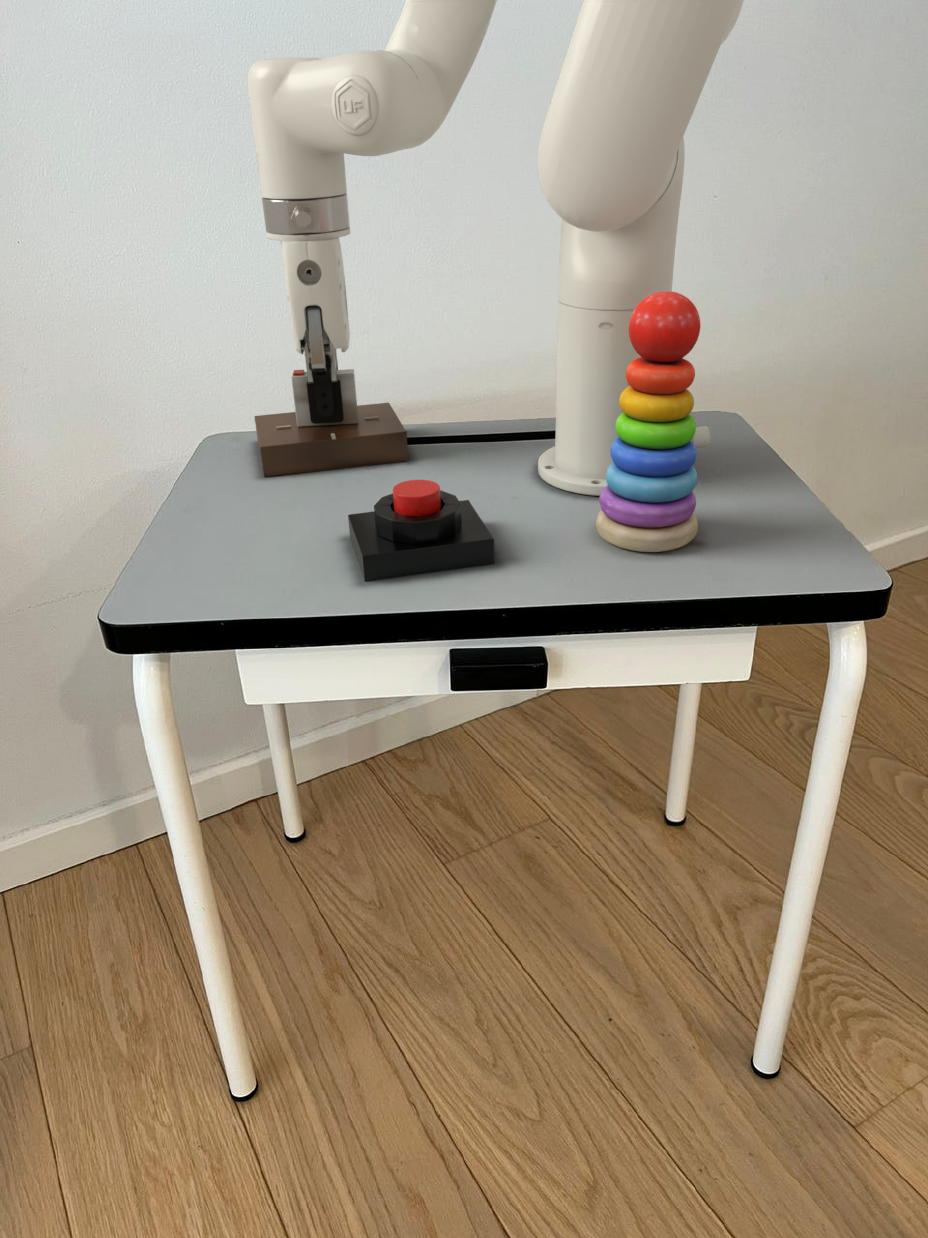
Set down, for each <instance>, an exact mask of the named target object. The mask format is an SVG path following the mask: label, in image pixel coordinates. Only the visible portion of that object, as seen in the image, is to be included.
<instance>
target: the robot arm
mask: <svg viewBox="0 0 928 1238" xmlns="http://www.w3.org/2000/svg"><path fill="white" fill-rule="evenodd" d="M497 1H498V0H405V1H404V2H405V3H404V5H403V7H402V10H401V13H400V15H399V18H398V20H397V23H396V25H395V27H394V29H393V31H392V34H391V36H390V38H389V40H388V43H387V44H386V47H385V48H384V50H382V49H381V50H378V49H377V50H359V51H358V50H357V51H351V52H347V53H343V54H338V55H334V56H329V57H326V58H325V57H323V58H321V57H307V56H306V57H302V56H301V57H299V56H298V57H277V58H265V59H260V60H258V61H255V62H254V63H253V64H252V65H251V66H250V68H249V70H248V73H247V90H248V97H249V98H248V99H249V106H250V107H249V108H250V115H251V124H252V130H253V138H254V146H255V147H254V148H255V154H256V163H257V169H258V170H257V171H258V178H259V184H260V186H259V187H260V195H261V201H262V203H261V204H262V209H263V218H264V226H265V227H264V228H265V234H266V235H265V236H266V238H267V239H269V240H272V241H279V242H280V250H281V259H282V267H283V277H284V284H285V292H286V298H287V306H288V313H289V320H290V325H291V332H292V337H293V342H294V348H295V351H296V352H297V353H299V354H300V355H304V359H305V368H306V372H307V377H308V382H307V383H306V384H307V393H308V401H309V410H310V419H311V422H312V423H313V424H320V423H337V422H342V421H343V419H344V415H343V404H342V394H341V384H340V380H337V371H336V370H339V362H338V353H337V349H338V350H339V349H340V351H341V353H345V352H347V350H349V348H350V339H351V338H350V337H351V336H350V335H351V334H350V333H351V331H350V322H349V321H350V320H349V311H348V299H347V290H346V289H347V287H346V278H345V277H346V276H345V267H344V260H343V253H342V252H343V251H342V246H341V239H340V238H343V237H346V236H350V234H351V223H350V211H349V202H348V201H349V199H348V190H347V189H348V188H347V177H346V163H345V155H352V156H359V157H379V156H384V155H389V154H392V153H397V152H400V151H404V150H408V149H414V148H416V147H419V146H421V145H423V144H425V143H426V142H427V141H429V140H430V139H431V138H432V137H433V136H434V135H435V133H437V131H439V129H440V127H441V126H442V125H443V123H444V121H445V120H446V118H447V116H448V114H449V113H450V111H451V109H452V107H453V105H454V103H455V101H456V99H457V97H458V95H459V93H460V91H461V89H462V88H463V85H464V83H465V81H466V79H467V77H468V75H469V73H470V71H471V70H472V67H473V65H474V63H475V61H476V58H477V57H478V54H479V51H480V49H481V47H482V44H483V42H484V40H485V37H486V34H487V31H488V29H489V26H490V22H491V19H492V17H493V13H494V10H495V8H496V4H497ZM744 1H745V0H583V2H582V5H581V8H580V11H579V14H578V17H577V21H576V24H575V26H574V30H573V33H572V36H571V39H570V42H569V46H568V49H567V52H566V54H565V57H564V62H563V64H562V67H561V70H560V73H559V76H558V78H557V82H556V85H555V88H554V91H553V95H552V97H551V101H550V104H549V106H548V110H547V113H546V116H545V119H544V124H543V125H542V129H541V134H540V137H539V143H538V147H537V149H538V150H537V174H538V179H539V184H540V187H541V190H542V193H543V196H544V197H545V199H546V201H547V203H548V204H549V206H550V207H551V209H552V210H553V211H554V212H555V213H556V215H557V216H558V217H559V218H561V230H560V231H561V232H560V243H559V255H558V256H559V257H558V281H557V283H558V285H557V286H558V288H557V326H556V327H557V330H556V331H557V332H556V333H557V334H556V379H555V380H556V386H555V387H556V388H555V389H556V390H555V397H556V398H555V435H554V436H555V439H554V440H555V442H554V446H552V447H550V448H548V449H546V450H545V451H544V452H542V454H541V455H540V456H539V458H538V460H537V473H538V475H539V476H540V478H541V479H542V480H543V481H545V482H546V483H547V484H548V485H550V486H553V487H555V488H557V489H559V490H562V491H566V492H570V493H574V494H578V495H586V496H595V497H600V494H601V491H602V490H603V489H604V487H605V486H606V485H608V484H607V481H606V473H607V470H608V468H609V466H610V465H611V464H612V463H613V461H612V458H611V453H610V451H611V446H612V444H613V442H614V441H615V440H616V439H617V438H618V437H619V436H618V435H617V432H616V421H617V418H618V417H619V416H620V414H622V413H623V411H622V410H621V408H620V405H619V398H620V395H621V393H622V392H623V391H624V390H625V389H626V388H627V387H629V386H630V385H629V384H628V382H627V380H626V369H627V367H628V365H629V364H630V363H631V362H632V361H633V360H635V359H637V358H640V357H641V356H640V355H639V354H638V353H637V352H636V351H635V349H634V348H633V346H632V344H631V341H630V337H629V322H630V318H631V315H632V313H633V311H634V309H635V308H636V306H637V305H638V304H639V303H640V302H641V301H642V300H643V299H644V298H646V297H647V296H649V295H651V294H654V293H656V292H662V291H672V292H673V281H674V266H675V256H676V255H675V254H676V245H677V234H678V227H679V226H678V224H679V215H680V207H681V200H682V199H681V198H682V191H683V184H684V183H683V182H684V173H685V155H686V154H685V137H684V136H685V133H686V131H687V129H688V126H689V123H690V122H691V119H692V117H693V115H694V111H695V109H696V107H697V105H698V102H699V99H700V97H701V94H702V92H703V90H704V87H705V84H706V82H707V80H708V77H709V75H710V73H711V70H712V67H713V65H714V62H715V60H716V58H717V55H718V53H719V51H720V48H721V46H722V44H724V43H725V41H726V40H727V39H728V37H729V36H730V34H731V32H732V31H733V29H734V28H735V26H736V23H737V21H738V19H739V17H740V14H741V11H742V8H743V4H744ZM711 438H712V436H711V430H710V428H709V427H708V425H704V426H696V431H695V435H694V437H693V438H692V440H691V441H692V443H693V444H694V445H695V448H696V449H701V448H707V447H709V446H710V444H711Z"/></svg>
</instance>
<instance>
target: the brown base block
mask: <svg viewBox="0 0 928 1238" xmlns="http://www.w3.org/2000/svg"><path fill="white" fill-rule="evenodd" d="M357 409H358V423H355V424H338V425H320V426H303V427H298V426H297V421H296V412H295V411H291V412H281V413H280V412H279V413H271V414H261V415H254V423H255V430H256V439H257V444H258V450H259V456H260V463H261V468H262V474H263V477H264V478H267V477H275V476H285V475H286V476H287V475H292V474H303V473H304V474H305V473H312V472H320V471H329V470H338V469H346V468H348V469H349V468H357V467H364V466H365V467H366V466H374V465H382V464H383V465H384V464H392V463H401V462H409V447H408V446H409V445H408V433H407V430H406V428H405V427H404V424H402V422H401V420H400V419H399V417H398V415H397V413H396V412H395V410H394V408H393V407H392V405H391V404H390V402H380V403H371V404H361V405H357Z"/></svg>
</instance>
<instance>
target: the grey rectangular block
mask: <svg viewBox="0 0 928 1238" xmlns="http://www.w3.org/2000/svg"><path fill="white" fill-rule="evenodd" d="M336 371H337V380H340V384H341V394H342V404H343V415H344V419H343V421H342V422H337V423H320V424H313V423H312V422H311V419H310V410H309V401H308V393H307V384H306V383H307V382H308V377H307V371H305V369H293V371H292V372H291V377H290V379H291V386H292V394H293V403H294V412H296V421H297V426H298V427H303V426H320V425H338V424H355V423H358V409H357V406H358V398H357V397H358V396H357V386H356V376H355V375H356V374H355V369H353V368H350V369H338V370H336Z"/></svg>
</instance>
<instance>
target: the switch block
mask: <svg viewBox="0 0 928 1238" xmlns="http://www.w3.org/2000/svg"><path fill="white" fill-rule="evenodd" d="M440 498H441V509H440V511H437V512H435V513H432V514H429V515H421V516H409V515H401V514H398V513H396V512H395V511H394V500H393V492H392V493H390V494H386V495H385V496H382V497H381V498H380V499H379V500H378V501H376V503H375V504H374V505H373V511H367V512H366V511H365V512H361V513H360V512H359V513H358V512H357V513H350V514H348V515H347V518H348V519H347V520H348V529H349V538H350V542H351V545H352V548H353V551H354V554H355V557H356V561H357V563H358V566H359V569H360V571H361V575H362V578H363V580H364V583H367V582H374V581H381V580H388V579H394V578H395V579H397V578H403V577H404V578H405V577H411V576H418V575H425V574H433V573H439V572H440V573H441V572H448V571H454V570H461V569H462V570H463V569H469V568H477V567H482V566H483V567H485V566H490V565H495V538H494V537H493V535H492V533H491V532H490V531H489V529H488V527H487V526H486V524H485V523H484V521H483V520H482V518H481V517H480V515H479V514H478V513H477V510H476V509H475V508H474V506H473V505H472V503H471V502H470V500H469V499H464V500H459V499H458V497H457V496H456V495H455V494H452V493H450V492H446V491H444V490H441V489H440Z"/></svg>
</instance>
